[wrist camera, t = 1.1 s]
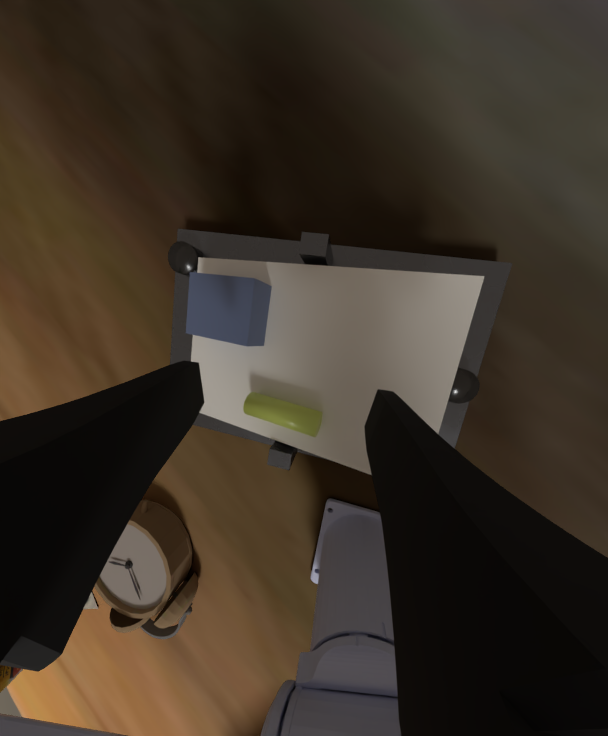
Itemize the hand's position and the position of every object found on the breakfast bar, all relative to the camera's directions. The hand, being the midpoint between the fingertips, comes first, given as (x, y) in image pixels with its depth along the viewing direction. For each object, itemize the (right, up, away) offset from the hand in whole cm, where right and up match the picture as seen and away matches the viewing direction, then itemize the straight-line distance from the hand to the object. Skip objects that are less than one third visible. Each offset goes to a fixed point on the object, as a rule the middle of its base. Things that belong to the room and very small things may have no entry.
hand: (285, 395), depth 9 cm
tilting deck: (0, +2, +6) cm, 6 cm away
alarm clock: (-17, -21, +18) cm, 32 cm away
